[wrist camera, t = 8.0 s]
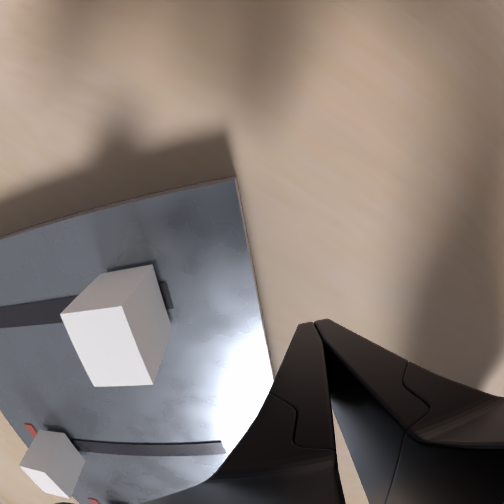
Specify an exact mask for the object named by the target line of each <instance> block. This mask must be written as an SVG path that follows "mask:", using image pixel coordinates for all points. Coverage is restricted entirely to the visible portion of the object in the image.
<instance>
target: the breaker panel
mask: <svg viewBox="0 0 504 504" xmlns="http://www.w3.org/2000/svg"><path fill="white" fill-rule="evenodd" d="M151 264H153V268H154V271H155V275H156V278H157V282H158V285H159V288H160V292H161V295H162V298H163V302H164V305H165V308H166V311H167V314H168V317H169V320H170V324H171V327H172V330H173V331H172V333H171V336H170V339H169V342H168V344H167V347H166V350H165V353H164V356H163V358H162V361H161V364H160V367H159V370H158V373H157V375H156V378H155V381H154V384H153V385H138V386H109V387H94V385H93V384H92V382H91V380H90V378H89V376H88V374H87V372H86V370H85V368H84V366H83V364H82V362H81V360H80V358H79V356H78V354H77V352H76V350H75V348H74V345H73V343H72V341H71V339H70V337H69V334H68V332H67V330H66V327H65V325H64V323H63V320H62V318H61V316H60V313H61V312H62V311H63V310H64V309H65V308H66V307H67V306H68V305H69V304H70V303H71V302H72V301H73V300H74V299H75V298H76V297H77V296H78V295H79V294H80V293H81V292H82V291H83V290H84V289H85V288H86V287H87V286H88V285H89V284H91V283H92V282H93V281H94V280H95V279H96V278H97V277H98V276H99V275H100V274H102V273H107V272H113V271H118V270H124V269H129V268H135V267H140V266H146V265H151ZM273 381H274V374H273V368H272V363H271V358H270V353H269V347H268V342H267V337H266V331H265V326H264V321H263V316H262V310H261V305H260V300H259V295H258V289H257V284H256V279H255V273H254V268H253V263H252V257H251V252H250V247H249V242H248V236H247V231H246V226H245V220H244V215H243V210H242V204H241V199H240V194H239V189H238V183H237V178H236V176H234V177H229V178H224V179H219V180H214V181H209V182H204V183H199V184H194V185H189V186H185V187H180V188H175V189H171V190H166V191H162V192H158V193H153V194H149V195H145V196H141V197H137V198H133V199H128V200H124V201H121V202H117V203H113V204H109V205H105V206H101V207H98V208H94V209H90V210H87V211H83V212H79V213H76V214H72V215H69V216H65V217H62V218H59V219H55V220H52V221H49V222H45V223H42V224H39V225H36V226H32V227H29V228H26V229H23V230H20V231H17V232H14V233H11V234H8V235H5V236H2V237H0V410H1V412H2V413H3V415H4V416H5V418H6V419H7V420H8V422H9V423H10V425H11V426H12V427H13V429H14V430H15V431H16V433H17V434H18V435H19V437H20V438H21V439H22V441H23V442H24V443H25V444H26V446H27V447H28V448H29V447H30V445H31V443H32V442H33V440H34V438H35V436H36V435H37V433H38V431H39V430H44V431H51V432H59V433H65V435H66V436H67V437H68V439H69V440H70V442H71V443H72V444H73V446H74V447H75V448H76V449H77V451H78V452H79V453H80V455H81V456H82V457H83V458H84V460H85V463H84V466H83V468H82V471H81V473H80V476H79V478H78V481H77V483H76V486H75V488H74V491H73V493H72V496H73V497H74V498H75V499H76V500H77V501H78V502H79V503H80V504H140V503H144V502H147V501H150V500H154V499H157V498H160V497H164V496H167V495H170V494H173V493H176V492H179V491H182V490H185V489H187V488H190V487H193V486H196V485H198V484H200V483H202V482H204V481H205V480H207V479H208V478H209V477H211V476H212V475H213V474H214V473H215V472H216V471H217V470H218V468H219V467H220V466H221V465H222V463H223V462H224V461H225V459H226V458H227V457H228V455H229V454H230V453H231V451H232V450H233V449H234V447H235V446H236V445H237V443H238V442H239V441H240V439H241V438H242V437H243V435H244V434H245V432H246V431H247V430H248V428H249V427H250V425H251V424H252V422H253V421H254V419H255V418H256V416H257V414H258V412H259V410H260V408H261V406H262V405H263V403H264V400H265V398H266V396H267V394H268V392H269V390H270V388H271V386H272V383H273Z"/></svg>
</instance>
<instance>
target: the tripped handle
mask: <svg viewBox="0 0 504 504" xmlns="http://www.w3.org/2000/svg"><path fill="white" fill-rule="evenodd" d="M60 316H61V318H62V320H63V323H64V325H65V327H66V330H67V332H68V334H69V337H70V339H71V341H72V343H73V345H74V348H75V350H76V352H77V354H78V356H79V358H80V360H81V362H82V364H83V366H84V368H85V370H86V372H87V374H88V376H89V378H90V380H91V382H92V384H93V385H94V387H109V386H138V385H153V384H154V381H155V378H156V375H157V373H158V370H159V367H160V364H161V361H162V358H163V356H164V353H165V350H166V347H167V344H168V342H169V339H170V336H171V333H172V331H173V330H172V327H171V324H170V320H169V317H168V314H167V311H166V308H165V305H164V302H163V298H162V295H161V292H160V288H159V285H158V282H157V278H156V275H155V271H154V268H153V264H151V265H146V266H140V267H135V268H129V269H124V270H118V271H113V272H107V273H102V274H100V275H99V276H98V277H97V278H96V279H95V280H94V281H93V282H92V283H91V284H89V285H88V286H87V287H86V288H85V289H84V290H83V291H82V292H81V293H80V294H79V295H78V296H77V297H76V298H75V299H74V300H73V301H72V302H71V303H70V304H69V305H68V306H67V307H66V308H65V309H64V310H63V311H62V312H61V313H60Z"/></svg>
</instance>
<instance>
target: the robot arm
mask: <svg viewBox="0 0 504 504" xmlns="http://www.w3.org/2000/svg"><path fill="white" fill-rule="evenodd" d="M332 409H333V411H334V414H335V416H336V419H337V422H338V424H339V427H340V429H341V432H342V434H343V437H344V439H345V442H346V444H347V447H348V449H349V452H350V455H351V457H352V460H353V462H354V465H355V467H356V470H357V472H358V475H359V478H360V480H361V483H362V485H363V488H364V491H365V493H366V496H367V498H368V501H369V504H504V397H498V396H494V395H491V394H488V393H485V392H482V391H480V390H477V389H474V388H471V387H468V386H466V385H463V384H460V383H457V382H455V381H452V380H449V379H447V378H444V377H442V376H439V375H437V374H435V373H432V372H430V371H428V370H426V369H424V368H422V367H420V366H418V365H416V364H414V363H412V362H408V360H406V359H404V358H402V357H400V356H398V355H396V354H394V353H392V352H390V351H388V350H387V349H385V348H383V347H381V346H379V345H377V344H375V343H373V342H371V341H369V340H367V339H366V338H364V337H362V336H360V335H358V334H356V333H354V332H352V331H350V330H348V329H347V328H345V327H343V326H341V325H339V324H337V323H335V322H333V321H332V320H330V319H323V320H318V321H315V322H314V323H313V322H307V323H302V324H299V325H298V327H297V329H296V331H295V334H294V336H293V338H292V341H291V343H290V345H289V348H288V350H287V352H286V355H285V357H284V359H283V361H282V364H281V366H280V368H279V370H278V373H277V375H276V377H275V379H274V381H273V383H272V386H271V388H270V390H269V392H268V394H267V396H266V398H265V400H264V403H263V405H262V406H261V408H260V410H259V412H258V414H257V416H256V418H255V419H254V421H253V422H252V424H251V425H250V427H249V428H248V430H247V431H246V432H245V434H244V435H243V437H242V438H241V439H240V441H239V442H238V443H237V445H236V446H235V447H234V449H233V450H232V451H231V453H230V454H229V455H228V457H227V458H226V459H225V461H224V462H223V463H222V465H221V466H220V467H219V468H218V470H217V471H216V472H215V473H214V474H213V475H212V476H211V477H209V478H208V479H207V480H205V481H204V482H202V483H200V484H198V485H196V486H193V487H190V488H187V489H185V490H182V491H179V492H176V493H173V494H170V495H167V496H164V497H160V498H157V499H154V500H150V501H147V502H144V503H140V504H346V503H345V498H344V494H343V489H342V485H341V480H340V476H339V471H338V463H337V454H336V443H335V433H334V424H333V415H332ZM56 504H73V503H65V502H61V503H56Z"/></svg>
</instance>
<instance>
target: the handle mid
mask: <svg viewBox="0 0 504 504" xmlns="http://www.w3.org/2000/svg"><path fill="white" fill-rule="evenodd" d="M84 463H85V460H84V458H83V457H82V456H81V455H80V453H79V452H78V451H77V449H76V448H75V447H74V446H73V444H72V443H71V442H70V440H69V439H68V437H67V436H66V435H65V433H59V432H51V431H44V430H39V431H38V433H37V435H36V436H35V438H34V440H33V442H32V443H31V445H30V447H29V449H28V450H27V452H26V454H25V456H24V457H23V459H22V461H21V463H20V465H19V466H20V467H21V468H22V470H23V471H24V472H25V473H26V474H27V475H28V476H29V477H30V478H31V479H32V480H33V481H34V482H35V483H36V484H37V485H38V486H39V487H40V488H41V489H42V490H43V491H44V492H46V493H49V494H53V495H57V496H61V497H65V498H69V499H71V496H72V493H73V491H74V488H75V486H76V483H77V481H78V478H79V476H80V473H81V471H82V468H83V466H84Z"/></svg>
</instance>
